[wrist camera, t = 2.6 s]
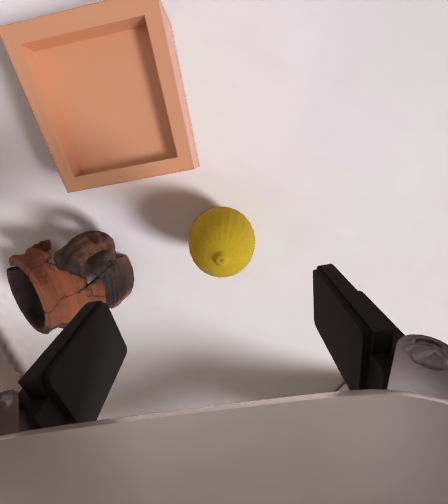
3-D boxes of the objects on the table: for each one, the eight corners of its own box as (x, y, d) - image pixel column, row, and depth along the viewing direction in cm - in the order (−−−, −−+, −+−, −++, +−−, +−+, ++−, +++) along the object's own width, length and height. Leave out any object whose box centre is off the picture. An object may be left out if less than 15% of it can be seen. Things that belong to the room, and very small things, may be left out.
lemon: (233, 260, 25) (236, 305, 18) (185, 237, 24) (168, 275, 17) (260, 215, 23) (277, 245, 16) (209, 188, 22) (202, 206, 15)
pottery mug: (124, 315, 29) (49, 360, 22) (80, 260, 30) (-3, 285, 24) (162, 252, 22) (71, 288, 15) (102, 185, 24) (-4, 191, 17)
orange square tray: (171, 24, 17) (155, -12, 14) (199, 165, 21) (194, 169, 17) (45, 53, 18) (-4, 27, 14) (95, 185, 22) (67, 192, 18)
